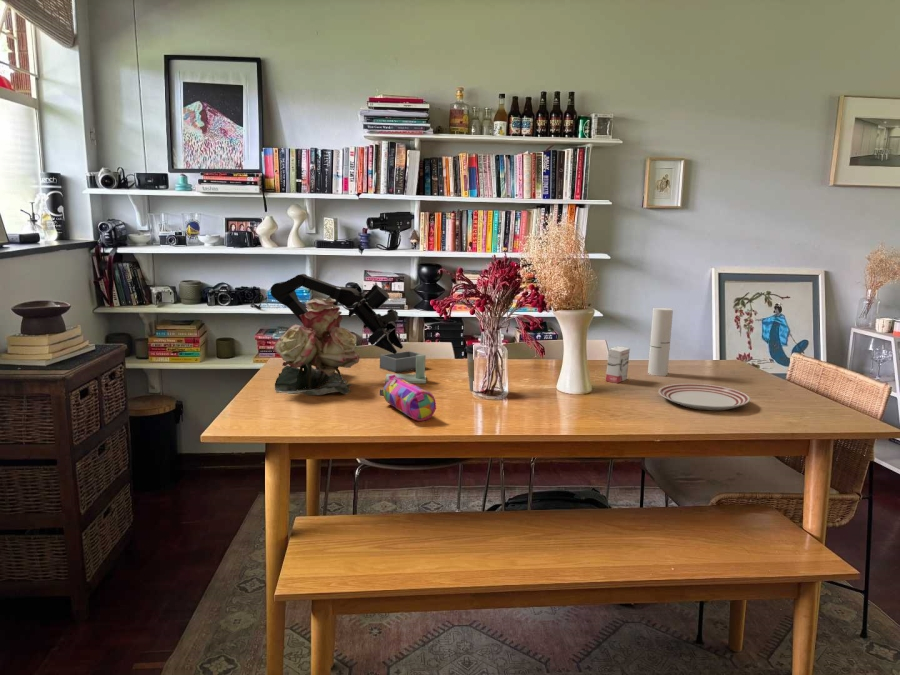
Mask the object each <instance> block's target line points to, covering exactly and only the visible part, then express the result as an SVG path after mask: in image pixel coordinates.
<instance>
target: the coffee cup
mask: <svg viewBox="0 0 900 675" xmlns="http://www.w3.org/2000/svg"><path fill="white" fill-rule="evenodd" d="M474 344H475V343H472V344H468V346H467V348H466V349H465V353H467V354H466V355H467V356H466V357H467V359H466V362H467V363H466V364H467V375H468V384H469V391H470V392H473V381H474V360H473V345H474Z"/></svg>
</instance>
